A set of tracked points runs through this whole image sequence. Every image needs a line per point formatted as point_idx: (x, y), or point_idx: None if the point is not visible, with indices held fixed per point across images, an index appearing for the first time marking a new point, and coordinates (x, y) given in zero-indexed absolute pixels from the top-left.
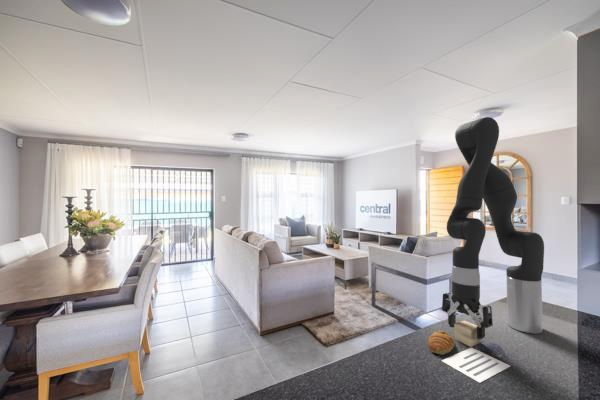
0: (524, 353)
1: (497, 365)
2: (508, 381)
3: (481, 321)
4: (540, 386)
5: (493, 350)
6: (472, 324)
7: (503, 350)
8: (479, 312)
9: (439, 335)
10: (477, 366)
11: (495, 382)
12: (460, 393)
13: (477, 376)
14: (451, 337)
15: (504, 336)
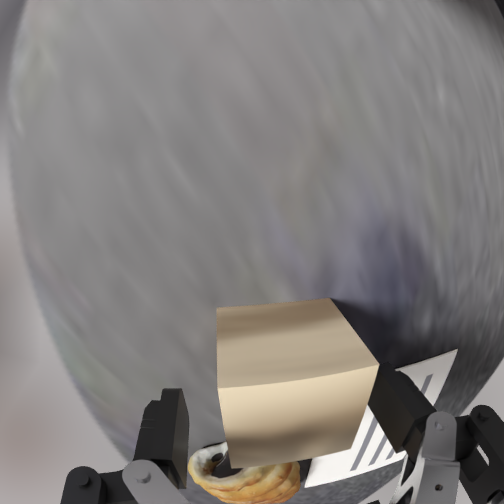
0: (478, 193)
1: (429, 387)
2: (449, 405)
3: (436, 447)
4: (498, 351)
5: (401, 308)
6: (318, 388)
7: (429, 259)
8: (453, 494)
9: (250, 501)
10: (386, 437)
11: None
12: (380, 487)
13: (394, 454)
14: (269, 465)
15: (359, 56)
